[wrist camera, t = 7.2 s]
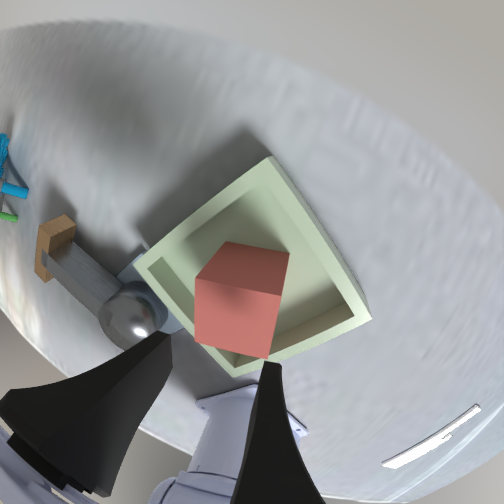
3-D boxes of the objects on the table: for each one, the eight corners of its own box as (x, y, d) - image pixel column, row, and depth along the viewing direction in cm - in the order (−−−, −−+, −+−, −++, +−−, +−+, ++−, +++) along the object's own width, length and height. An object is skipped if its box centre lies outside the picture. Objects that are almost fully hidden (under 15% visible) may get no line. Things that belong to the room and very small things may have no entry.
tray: (366, 297, 17) (372, 319, 15) (240, 356, 21) (233, 378, 19) (273, 155, 15) (266, 157, 13) (151, 250, 19) (132, 264, 17)
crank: (178, 301, 19) (157, 328, 16) (156, 338, 22) (137, 363, 19) (67, 213, 19) (38, 225, 16) (58, 256, 21) (34, 271, 18)
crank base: (199, 316, 20) (196, 320, 20) (132, 351, 24) (129, 355, 24) (145, 249, 19) (141, 252, 19) (90, 301, 23) (86, 304, 22)
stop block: (290, 253, 17) (281, 296, 12) (279, 308, 18) (267, 359, 14) (225, 241, 17) (194, 277, 13) (221, 295, 19) (194, 341, 14)
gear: (6, 113, 16) (-37, 181, 11) (51, 127, 20) (20, 198, 15) (-7, 186, 21) (-31, 255, 16) (30, 197, 25) (12, 266, 21)
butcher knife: (486, 410, 20) (489, 416, 19) (400, 464, 26) (401, 470, 25) (474, 402, 19) (477, 409, 18) (381, 460, 26) (381, 466, 25)
